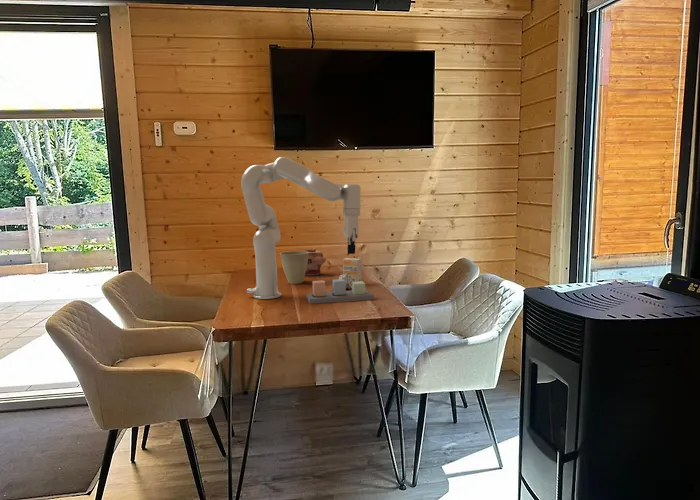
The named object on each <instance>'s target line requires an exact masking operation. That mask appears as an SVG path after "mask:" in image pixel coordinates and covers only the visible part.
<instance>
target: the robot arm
mask: <svg viewBox="0 0 700 500" xmlns="http://www.w3.org/2000/svg"><path fill="white" fill-rule="evenodd" d="M240 179H241V180H240V185H241V192H242V195H243V198H244V203H245V206H246V210H247V214H248V217H249V221H250V222H251V224H253V225H254V226H257V227H258V229H257V230H256V232H255V233H254V235H253V238H252V239H253V240H252V243H253V244H252V245H253V249H254V255H255V256H254V259H255V260H254V261H255V277H256V278H255V279H256V280H255V282H256V285H255V287H253V288H246V293H247V294H253V298H254V299H258V300H272V299H277V298H280V297H281V296H282V292H280V291H279V290H278V289H279V288H278V287H279V286H278V266H277V264H278V262H277V252H276V251H277V250H276V246H277V245H278V244H279V243H280V241H281V238H282V236H281V235H282V234H281V230H280V227H279V223H278V219H277V215H276V211H275V210H274V208H273V207H272V206H270V205H269V204H267V203H266V201H265V197H264V196H265V195H264V193H263V191H262V188H261V185H266V184H270V183H271V184H272V183H274V182H277V181H280V180H284V179H286V180H288V181H290V182H292V183H294V184H296V185H298V186H300V187H302V188H303V189H306V190H308V191H309V192H311V193H313V194H315V195H317V196H319V197H321V198H323V199H325V200H328V201H330V202H335V201H343V202H342V204H343V206H342V208H343V211H342V215H343V217H344V218H343V219H344V220H343V237H344V238H346V239H347V255H356V241H357V240H356V239H359V233H360V230H359V217H361V193H362V192H361V190H362V189H361V186H360V185H359V184H357V183H356V184H355V183H352V184H351V183H349V184H341V183H334V182H332V181H330V180H327V179H325V178H324V177H322V176H320V175H318V174H316V173H315V172H314V171H313V170H312V169H311V168H309V167H306V166H305V165H303V164H300V163H298V162H296V161H294V160H293V158H290V157H285V156H281V157H278V158H276V159H275V161H274V162H270V163H268V164H254V165H251V166H249V167H248V168H247V169H246V170H245V171H244V173H243V174H242V175H241V178H240Z"/></svg>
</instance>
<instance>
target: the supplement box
mask: <svg viewBox="0 0 700 500" xmlns="http://www.w3.org/2000/svg"><path fill="white" fill-rule="evenodd" d="M342 259H343V260H342V267H343V268H342V269H343V270H342V272H343V273H342V274H349V275H350V276H351V277H352V278H353V279H355V280H353V282H358V281H362V277H361V275H362V272H361V271H362V268H361V267H362V258H351V257H346V258H342ZM349 272H350V273H349Z"/></svg>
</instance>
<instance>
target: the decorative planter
mask: <svg viewBox="0 0 700 500" xmlns="http://www.w3.org/2000/svg"><path fill="white" fill-rule="evenodd" d="M304 251H307V252H309V254H308V263H307V268H306V273H305V276H318V275H320V274H321V267H322V265H323V264H325V263H326V260H327V259H326V257H325V256H324V255H323V252H322V251H320V250H316V249H314V250H313V249H312V250H311V249H305V250H304Z"/></svg>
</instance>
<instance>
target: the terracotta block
mask: <svg viewBox="0 0 700 500" xmlns="http://www.w3.org/2000/svg"><path fill="white" fill-rule="evenodd" d="M326 292H327V291H326V281H325V280H324V279H323V280H321V279H320V280H312V293H313V295H314V296H326Z"/></svg>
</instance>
